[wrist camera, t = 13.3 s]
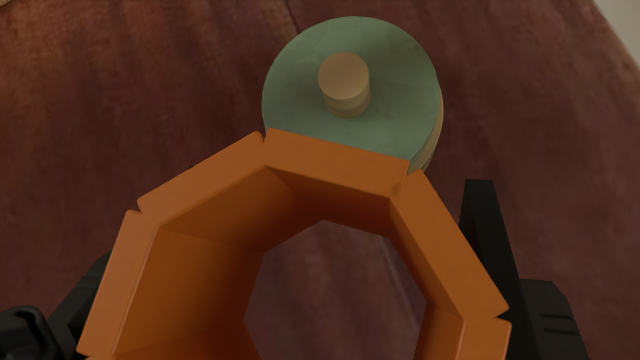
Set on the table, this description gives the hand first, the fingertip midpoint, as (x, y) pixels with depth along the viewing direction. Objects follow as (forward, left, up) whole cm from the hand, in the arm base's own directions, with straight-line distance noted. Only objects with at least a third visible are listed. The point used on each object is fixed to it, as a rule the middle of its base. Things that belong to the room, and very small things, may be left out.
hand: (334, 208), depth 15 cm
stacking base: (+6, -3, -12) cm, 14 cm away
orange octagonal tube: (-3, +2, -2) cm, 4 cm away
